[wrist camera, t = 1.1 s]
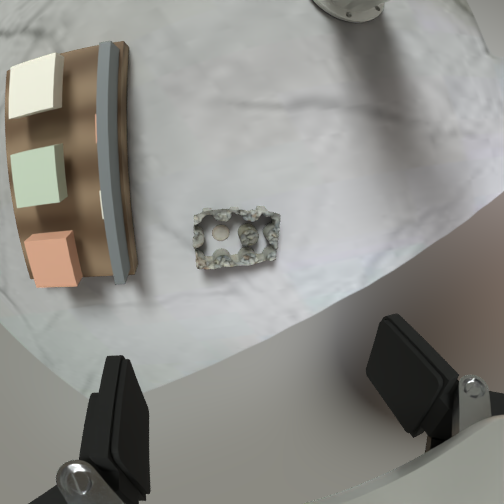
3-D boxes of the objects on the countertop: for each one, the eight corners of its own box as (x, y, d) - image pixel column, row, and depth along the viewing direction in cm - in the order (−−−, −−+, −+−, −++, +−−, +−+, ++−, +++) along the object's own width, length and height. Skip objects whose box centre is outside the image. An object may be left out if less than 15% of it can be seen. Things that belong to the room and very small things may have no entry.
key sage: (20, 152, 24) (10, 155, 22) (62, 143, 25) (54, 145, 23) (26, 202, 27) (17, 208, 25) (67, 196, 28) (59, 202, 26)
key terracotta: (32, 234, 28) (23, 241, 26) (72, 230, 30) (65, 238, 27) (43, 277, 31) (36, 287, 29) (82, 276, 32) (77, 286, 30)
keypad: (18, 72, 23) (-11, 68, 17) (128, 47, 26) (115, 31, 20) (38, 268, 35) (18, 294, 29) (138, 263, 38) (129, 291, 32)
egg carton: (192, 256, 39) (192, 271, 36) (193, 202, 36) (193, 211, 33) (270, 256, 42) (277, 270, 38) (276, 204, 39) (285, 214, 35)
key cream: (20, 69, 20) (10, 67, 18) (64, 56, 21) (55, 52, 19) (19, 118, 23) (8, 119, 20) (61, 107, 24) (52, 107, 22)
